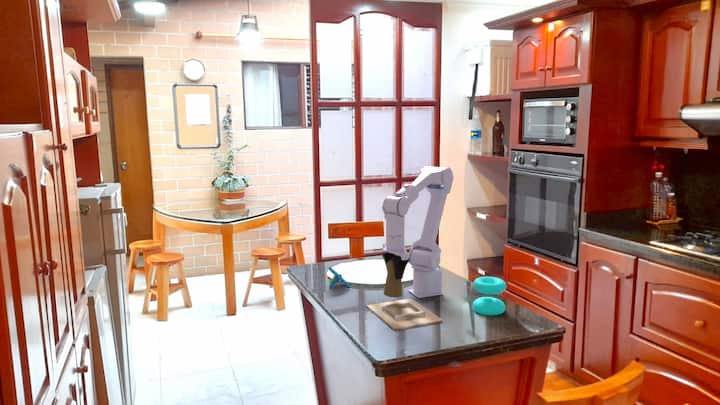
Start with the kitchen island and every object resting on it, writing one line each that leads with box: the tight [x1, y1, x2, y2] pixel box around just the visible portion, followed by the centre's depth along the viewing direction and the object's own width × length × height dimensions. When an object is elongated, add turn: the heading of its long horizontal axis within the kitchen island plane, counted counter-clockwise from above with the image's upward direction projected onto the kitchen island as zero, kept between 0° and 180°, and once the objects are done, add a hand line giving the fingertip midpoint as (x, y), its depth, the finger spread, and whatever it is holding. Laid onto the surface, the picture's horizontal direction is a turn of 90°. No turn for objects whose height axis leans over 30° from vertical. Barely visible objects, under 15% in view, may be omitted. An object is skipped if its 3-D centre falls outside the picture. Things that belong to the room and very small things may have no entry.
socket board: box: [366, 297, 444, 331], centre depth 161 cm, size 16×20×2 cm
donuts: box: [472, 276, 507, 317], centre depth 163 cm, size 10×10×10 cm
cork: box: [383, 260, 403, 298], centre depth 165 cm, size 6×6×11 cm
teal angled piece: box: [328, 266, 350, 289], centre depth 186 cm, size 11×6×10 cm
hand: (394, 276), depth 165 cm, fingers closed on cork, 5 cm apart
